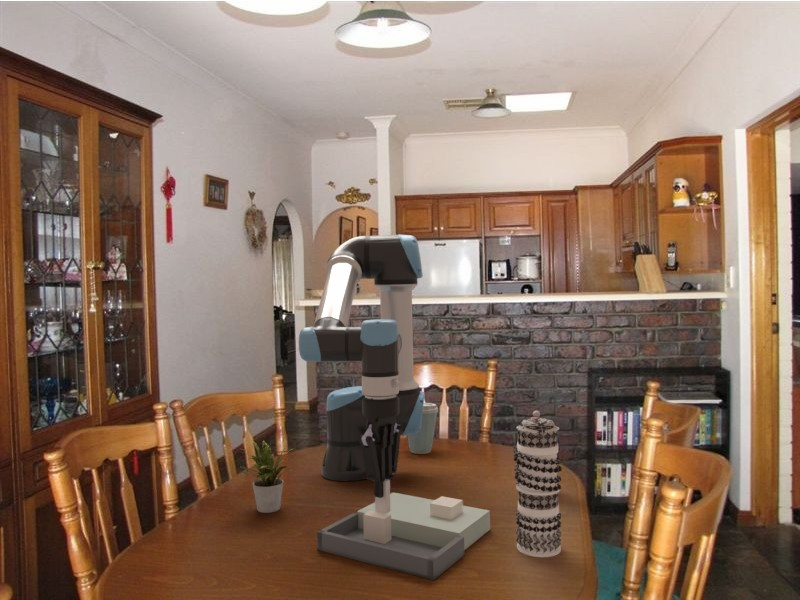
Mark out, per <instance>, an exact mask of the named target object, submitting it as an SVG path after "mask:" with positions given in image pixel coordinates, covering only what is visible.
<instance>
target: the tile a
mask: <svg viewBox="0 0 800 600" xmlns="http://www.w3.org/2000/svg"><path fill="white" fill-rule="evenodd" d="M363 523H364V539H366V540H370V541H374V542H378V543H383V544H385V543H387V542H388V541H390V540H391V515H389V514H384V513H380V512H375V511H369V512H367V513H365V514H363Z"/></svg>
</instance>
